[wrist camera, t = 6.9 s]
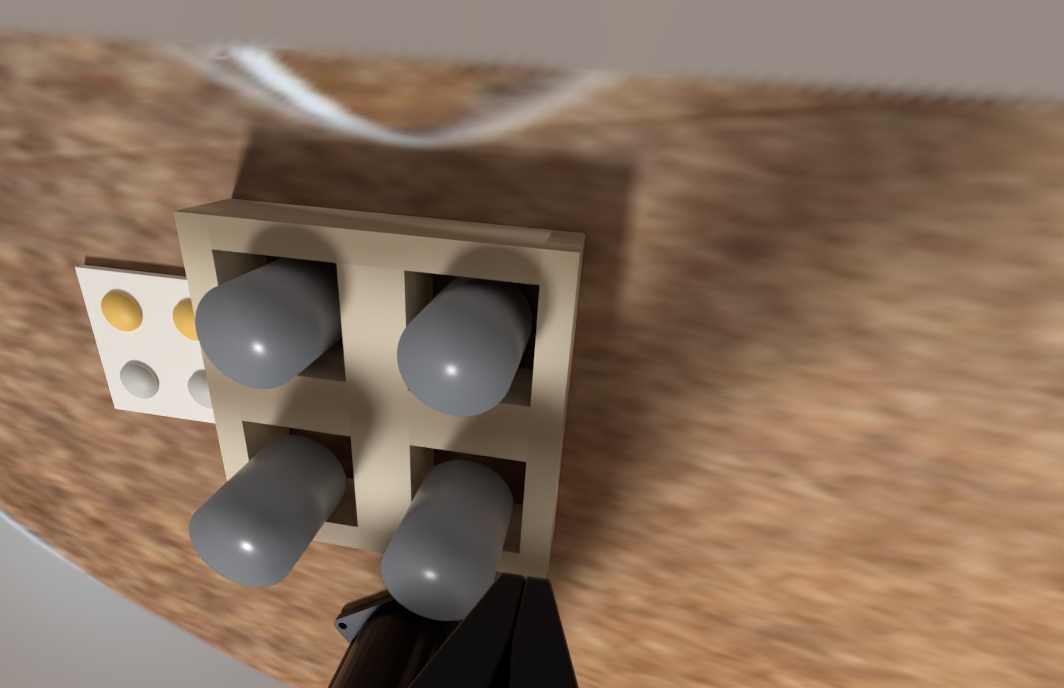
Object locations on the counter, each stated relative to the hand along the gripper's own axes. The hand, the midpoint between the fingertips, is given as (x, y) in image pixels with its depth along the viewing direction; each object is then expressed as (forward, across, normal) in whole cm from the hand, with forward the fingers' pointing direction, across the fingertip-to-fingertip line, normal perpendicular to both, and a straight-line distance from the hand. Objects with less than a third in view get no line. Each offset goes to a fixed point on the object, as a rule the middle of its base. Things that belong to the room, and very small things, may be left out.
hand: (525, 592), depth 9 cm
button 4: (+10, +11, +7) cm, 16 cm away
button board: (+13, +7, +3) cm, 15 cm away
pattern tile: (+13, +18, +3) cm, 23 cm away
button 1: (+12, +4, 0) cm, 13 cm away
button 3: (+10, +4, +7) cm, 13 cm away
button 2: (+12, +11, 0) cm, 16 cm away
